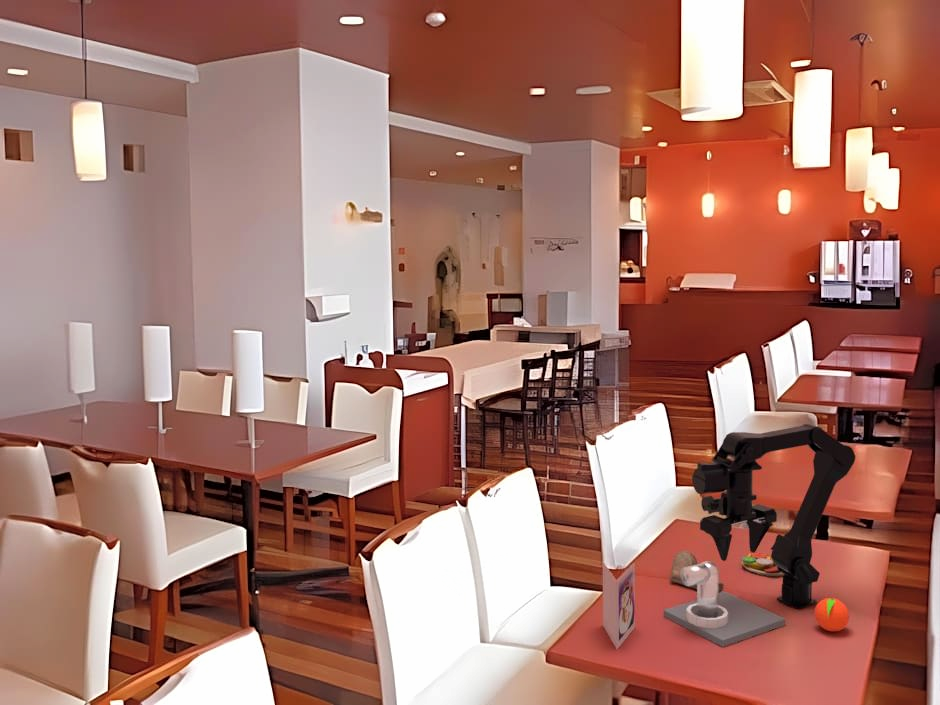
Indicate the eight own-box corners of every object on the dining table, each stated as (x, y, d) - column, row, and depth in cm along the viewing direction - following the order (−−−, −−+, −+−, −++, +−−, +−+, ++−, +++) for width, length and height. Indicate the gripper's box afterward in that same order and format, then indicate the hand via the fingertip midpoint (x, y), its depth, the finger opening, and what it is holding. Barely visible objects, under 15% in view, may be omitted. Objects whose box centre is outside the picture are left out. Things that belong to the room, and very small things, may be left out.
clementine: (845, 641, 182) (846, 609, 181) (810, 634, 186) (811, 603, 185) (851, 627, 189) (852, 595, 188) (817, 620, 192) (818, 589, 192)
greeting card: (620, 650, 181) (620, 581, 179) (587, 643, 185) (586, 575, 183) (638, 628, 191) (638, 563, 189) (606, 622, 195) (606, 557, 193)
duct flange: (724, 597, 206) (724, 583, 205) (785, 625, 190) (785, 610, 190) (663, 616, 197) (663, 601, 196) (722, 647, 181) (722, 631, 181)
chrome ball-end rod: (708, 613, 194) (709, 556, 192) (722, 621, 190) (723, 563, 188) (679, 621, 190) (679, 563, 189) (692, 629, 186) (693, 570, 185)
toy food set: (801, 565, 225) (801, 553, 225) (789, 582, 214) (790, 570, 214) (749, 556, 232) (749, 544, 232) (735, 572, 221) (735, 560, 221)
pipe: (715, 580, 205) (736, 562, 211) (655, 562, 216) (677, 546, 223) (717, 604, 206) (738, 585, 213) (657, 585, 218) (679, 568, 225)
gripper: (741, 475, 206) (740, 538, 208) (682, 487, 197) (682, 553, 199) (778, 485, 197) (777, 552, 199) (719, 499, 187) (718, 569, 189)
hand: (738, 556), depth 197 cm, fingers open, 9 cm apart
